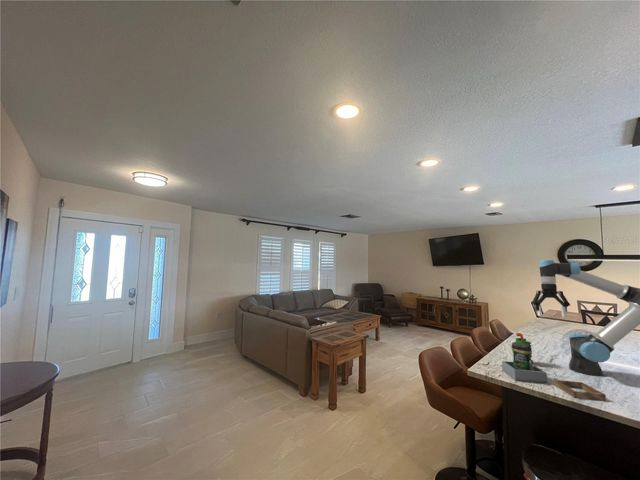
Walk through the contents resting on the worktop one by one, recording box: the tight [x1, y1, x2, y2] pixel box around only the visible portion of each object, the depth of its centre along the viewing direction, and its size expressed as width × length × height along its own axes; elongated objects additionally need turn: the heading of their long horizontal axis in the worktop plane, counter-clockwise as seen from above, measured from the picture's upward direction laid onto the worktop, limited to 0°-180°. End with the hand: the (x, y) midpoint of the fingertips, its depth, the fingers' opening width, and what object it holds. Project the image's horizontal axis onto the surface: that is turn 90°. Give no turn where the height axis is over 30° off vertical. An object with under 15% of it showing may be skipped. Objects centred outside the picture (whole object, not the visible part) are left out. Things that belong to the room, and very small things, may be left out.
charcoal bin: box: [501, 360, 548, 384], centre depth 155 cm, size 16×16×6 cm
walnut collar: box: [553, 379, 607, 402], centre depth 134 cm, size 13×15×3 cm
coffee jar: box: [511, 341, 533, 371], centre depth 156 cm, size 10×8×19 cm
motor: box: [515, 332, 534, 365], centre depth 180 cm, size 10×9×20 cm
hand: (551, 316), depth 166 cm, fingers open, 13 cm apart
